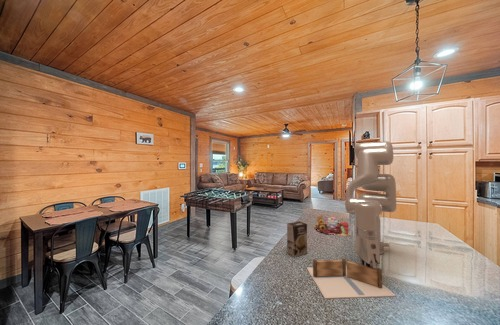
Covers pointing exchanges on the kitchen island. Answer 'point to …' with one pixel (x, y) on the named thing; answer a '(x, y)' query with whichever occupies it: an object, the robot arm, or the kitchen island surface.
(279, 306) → the kitchen island surface
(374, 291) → the card
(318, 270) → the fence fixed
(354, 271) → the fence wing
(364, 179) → the robot arm
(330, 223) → the plate of food
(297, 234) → the coffee box
